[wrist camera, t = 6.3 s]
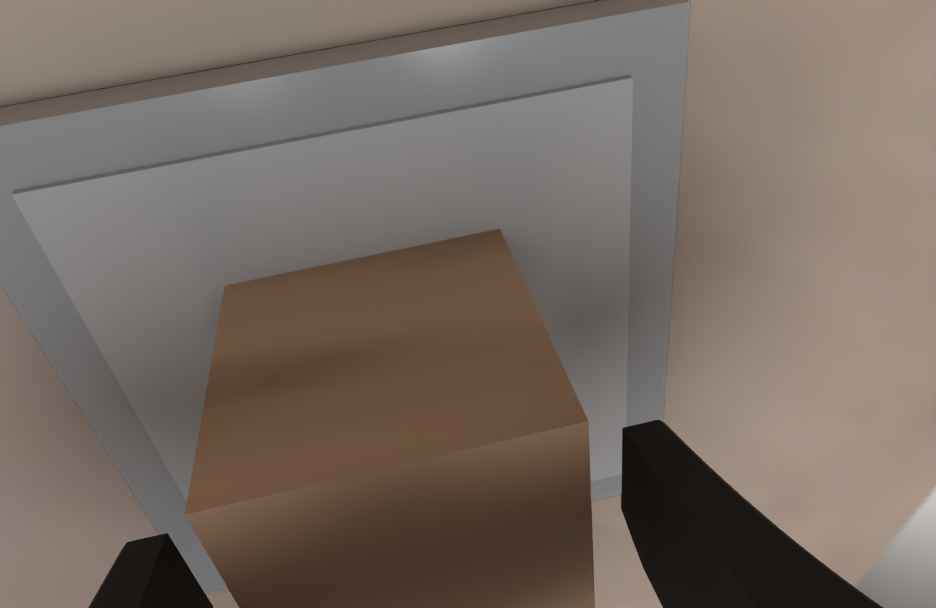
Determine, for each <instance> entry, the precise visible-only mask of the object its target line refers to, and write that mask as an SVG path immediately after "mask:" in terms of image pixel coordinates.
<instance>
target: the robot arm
mask: <svg viewBox="0 0 936 608" xmlns="http://www.w3.org/2000/svg"><path fill="white" fill-rule="evenodd" d="M621 509H622V512H623V515H624V517H625V520H626V523H627V526H628V528H629V531H630V534H631V537H632V539H633V542H634V545H635V547H636V550H637V552H638V555H639V558H640V560H641V563H642V565H643V568H644V570H645V572H646V574H647V576H648V578H649V580H650V582H651V584H652V586H653V588H654V590H655V592H656V594H657V596H658V598H659V600H660V602H661V604H662V606H663V608H883V607H882V606H880V605H879V604H877V603H876V602H874V601H873V600H871V599H870V598H869V597H867V596H866V595H864V594H863V593H862V592H860V591H859V590H858V589H856V588H855V587H853V586H852V585H851V584H849V583H848V582H847V581H845V580H844V579H843V578H841V577H840V576H839V575H837V574H836V573H835V572H833V571H832V570H831V569H829V568H828V567H827V566H826V565H824V564H823V563H822V562H820V561H819V560H818V559H817V558H815V557H814V556H813V555H811V554H810V553H809V552H808V551H806V550H805V549H804V548H803V547H801V546H800V545H799V544H798V543H796V542H795V541H794V540H793V539H791V538H790V537H789V536H788V535H787V534H785V533H784V532H783V531H782V530H780V529H779V528H778V527H777V526H776V525H775V524H773V523H772V522H771V521H770V520H769V519H768V518H766V517H765V516H764V515H763V514H762V513H761V512H759V511H758V510H757V509H756V508H755V507H754V506H752V505H751V504H750V503H749V502H748V501H747V500H746V499H744V498H743V497H742V496H741V495H740V494H739V493H738V492H736V491H735V490H734V489H733V488H732V487H731V486H730V485H729V484H728V483H726V482H725V481H724V480H723V479H722V478H721V477H720V476H719V475H718V474H717V473H716V472H715V471H714V470H712V469H711V468H710V467H709V466H708V465H707V464H706V463H705V462H704V461H703V460H702V459H701V458H700V457H699V456H698V455H697V454H696V453H695V452H693V451H692V450H691V449H690V448H689V447H688V446H687V445H686V444H685V443H684V442H683V441H682V440H681V439H680V438H679V437H678V436H677V435H676V434H675V433H674V432H673V431H672V430H671V429H670V428H669V427H668V426H667V425H666V424H665V423H664V422H662V421H661V420H659V419H658V420H654V421H650V422H645V423H641V424H637V425H632V426H628V427H624V428H622V495H621ZM89 608H213V606H212V604H211V603H210V601H209V599H208V598H207V596H206V594H205V593H204V591H203V590H202V588H201V586H200V585H199V583H198V581H197V580H196V578H195V577H194V575H193V573H192V572H191V570H190V568H189V567H188V565H187V564H186V562H185V560H184V559H183V557H182V555H181V554H180V552H179V551H178V549H177V547H176V546H175V544H174V542H173V541H172V539H171V538H170V536H169V534H168V533H165V534H161V535H157V536H152V537H148V538H144V539H139V540H135V541H131V542H127V543H126V545H125V546H124V547H123V549H122V551H121V552H120V554H119V556H118V557H117V559H116V561H115V563H114V564H113V566H112V568H111V569H110V571H109V573H108V575H107V576H106V578H105V580H104V582H103V583H102V585H101V587H100V589H99V590H98V592H97V594H96V596H95V597H94V599H93V601H92V602H91V604H90V606H89Z"/></svg>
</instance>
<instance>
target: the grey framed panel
mask: <svg viewBox="0 0 936 608" xmlns="http://www.w3.org/2000/svg"><path fill="white" fill-rule="evenodd" d="M690 7H691V2H690V1H688V0H600V1H595V2H589V3H583V4H578V5H572V6H567V7H561V8H555V9H550V10H544V11H539V12H533V13H527V14H522V15H516V16H510V17H505V18H499V19H494V20H488V21H482V22H477V23H471V24H465V25H460V26H454V27H449V28H443V29H437V30H432V31H426V32H421V33H415V34H409V35H404V36H398V37H392V38H387V39H381V40H376V41H370V42H364V43H359V44H353V45H348V46H342V47H336V48H331V49H325V50H319V51H314V52H308V53H303V54H297V55H291V56H286V57H280V58H274V59H269V60H263V61H258V62H252V63H246V64H241V65H235V66H230V67H224V68H218V69H213V70H207V71H201V72H196V73H190V74H185V75H179V76H173V77H168V78H162V79H156V80H151V81H145V82H140V83H134V84H128V85H123V86H117V87H112V88H106V89H100V90H95V91H89V92H83V93H78V94H72V95H67V96H61V97H55V98H50V99H44V100H39V101H33V102H27V103H22V104H16V105H10V106H5V107H0V285H1V287H2V288H3V290H4V291H5V293H6V294H7V296H8V298H9V299H10V301H11V302H12V304H13V305H14V307H15V309H16V310H17V312H18V313H19V315H20V316H21V318H22V320H23V321H24V323H25V324H26V326H27V327H28V329H29V331H30V332H31V334H32V335H33V337H34V338H35V340H36V342H37V343H38V345H39V346H40V348H41V350H42V351H43V353H44V354H45V356H46V357H47V359H48V361H49V362H50V364H51V365H52V367H53V368H54V370H55V372H56V373H57V375H58V376H59V378H60V379H61V381H62V383H63V384H64V386H65V387H66V389H67V390H68V392H69V394H70V395H71V397H72V398H73V400H74V401H75V403H76V405H77V406H78V408H79V409H80V411H81V412H82V414H83V416H84V417H85V419H86V420H87V422H88V424H89V425H90V427H91V428H92V430H93V431H94V433H95V435H96V436H97V438H98V439H99V441H100V442H101V444H102V446H103V447H104V449H105V450H106V452H107V453H108V455H109V457H110V458H111V460H112V461H113V463H114V464H115V466H116V468H117V469H118V471H119V472H120V474H121V475H122V477H123V479H124V480H125V482H126V483H127V485H128V486H129V488H130V490H131V491H132V493H133V494H134V496H135V497H136V499H137V501H138V502H139V504H140V505H141V507H142V509H143V510H144V512H145V513H146V515H147V516H148V518H149V520H150V521H151V523H152V524H153V526H154V527H155V529H156V531H157V532H158V534H159V535H161V534H165V533H168V534H169V536H170V538H171V539H172V541H173V542H174V544H175V546H176V547H177V549H178V551H179V552H180V554H181V555H182V557H183V559H184V560H185V562H186V564H187V565H188V567H189V568H190V570H191V572H192V573H193V575H194V577H195V578H196V580H197V581H198V583H199V585H200V586H201V588H202V590H203V591H204V593H208V592H212V591H216V590H221V589H225V588H228V587H227V586H226V584H225V582H224V581H223V579H222V577H221V576H220V574H219V572H218V570H217V569H216V567H215V565H214V564H213V562H212V560H211V559H210V557H209V555H208V554H207V552H206V550H205V549H204V547H203V545H202V544H201V542H200V540H199V538H198V537H197V535H196V533H195V532H194V530H193V528H192V527H191V525H190V523H189V522H188V520H187V518H186V517H185V509H186V504H187V498H188V492H189V487H190V481H191V475H192V469H193V464H194V458H195V452H196V447H197V441H198V435H199V430H200V424H201V418H202V413H203V407H204V401H205V396H206V390H207V384H208V379H209V373H210V367H211V362H212V356H213V350H214V345H215V339H216V333H217V327H218V322H219V316H220V310H221V305H222V299H223V293H224V288H225V286H226V285H230V284H235V283H240V282H245V281H250V280H255V279H259V278H264V277H269V276H274V275H279V274H283V273H288V272H293V271H298V270H303V269H307V268H312V267H317V266H322V265H327V264H332V263H336V262H341V261H346V260H351V259H356V258H360V257H365V256H370V255H375V254H380V253H384V252H389V251H394V250H399V249H404V248H409V247H413V246H418V245H423V244H428V243H433V242H437V241H442V240H447V239H452V238H457V237H461V236H466V235H471V234H476V233H481V232H486V231H490V230H495V229H500V230H501V232H502V235H503V237H504V239H505V241H506V243H507V245H508V248H509V250H510V252H511V254H512V256H513V258H514V261H515V263H516V265H517V267H518V269H519V271H520V274H521V276H522V278H523V280H524V282H525V285H526V287H527V289H528V291H529V293H530V295H531V298H532V300H533V302H534V304H535V306H536V308H537V311H538V313H539V315H540V317H541V319H542V321H543V324H544V326H545V328H546V330H547V332H548V334H549V337H550V339H551V341H552V343H553V345H554V347H555V350H556V352H557V354H558V356H559V358H560V360H561V363H562V365H563V367H564V369H565V371H566V374H567V376H568V378H569V380H570V382H571V384H572V387H573V389H574V391H575V393H576V395H577V397H578V400H579V402H580V404H581V406H582V408H583V410H584V413H585V415H586V417H587V419H588V421H589V451H590V480H591V502H592V501H596V500H600V499H605V498H609V497H613V496H617V495H621V494H622V428H624V427H628V426H632V425H637V424H641V423H645V422H650V421H654V420H658V419H659V420H661V421H662V422H663V419H664V404H665V388H666V373H667V358H668V343H669V327H670V312H671V297H672V282H673V266H674V251H675V236H676V221H677V205H678V190H679V175H680V159H681V144H682V129H683V114H684V98H685V83H686V68H687V53H688V37H689V22H690Z"/></svg>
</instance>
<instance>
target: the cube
mask: <svg viewBox="0 0 936 608" xmlns="http://www.w3.org/2000/svg"><path fill="white" fill-rule="evenodd" d="M185 517H186V518H187V520H188V522H189V523H190V525H191V527H192V528H193V530H194V532H195V533H196V535H197V537H198V538H199V540H200V542H201V544H202V545H203V547H204V549H205V550H206V552H207V554H208V555H209V557H210V559H211V560H212V562H213V564H214V565H215V567H216V569H217V570H218V572H219V574H220V576H221V577H222V579H223V581H224V582H225V584H226V586H227V587H228V589H229V591H230V592H231V594H232V596H233V597H234V599H235V601H236V602H237V604H238V606H239V608H595V599H594V570H593V540H592V510H591V480H590V451H589V421H588V419H587V417H586V415H585V413H584V410H583V408H582V406H581V404H580V402H579V400H578V397H577V395H576V393H575V391H574V389H573V387H572V384H571V382H570V380H569V378H568V376H567V374H566V371H565V369H564V367H563V365H562V363H561V360H560V358H559V356H558V354H557V352H556V350H555V347H554V345H553V343H552V341H551V339H550V337H549V334H548V332H547V330H546V328H545V326H544V324H543V321H542V319H541V317H540V315H539V313H538V311H537V308H536V306H535V304H534V302H533V300H532V298H531V295H530V293H529V291H528V289H527V287H526V285H525V282H524V280H523V278H522V276H521V274H520V271H519V269H518V267H517V265H516V263H515V261H514V258H513V256H512V254H511V252H510V250H509V248H508V245H507V243H506V241H505V239H504V237H503V235H502V232H501V230H500V229H495V230H490V231H486V232H481V233H476V234H471V235H466V236H461V237H457V238H452V239H447V240H442V241H437V242H433V243H428V244H423V245H418V246H413V247H409V248H404V249H399V250H394V251H389V252H384V253H380V254H375V255H370V256H365V257H360V258H356V259H351V260H346V261H341V262H336V263H332V264H327V265H322V266H317V267H312V268H307V269H303V270H298V271H293V272H288V273H283V274H279V275H274V276H269V277H264V278H259V279H255V280H250V281H245V282H240V283H235V284H230V285H226V286H225V288H224V293H223V299H222V305H221V310H220V316H219V322H218V327H217V333H216V339H215V345H214V350H213V356H212V362H211V367H210V373H209V379H208V384H207V390H206V396H205V401H204V407H203V413H202V418H201V424H200V430H199V435H198V441H197V447H196V452H195V458H194V464H193V469H192V475H191V481H190V487H189V492H188V498H187V504H186V509H185Z"/></svg>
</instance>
